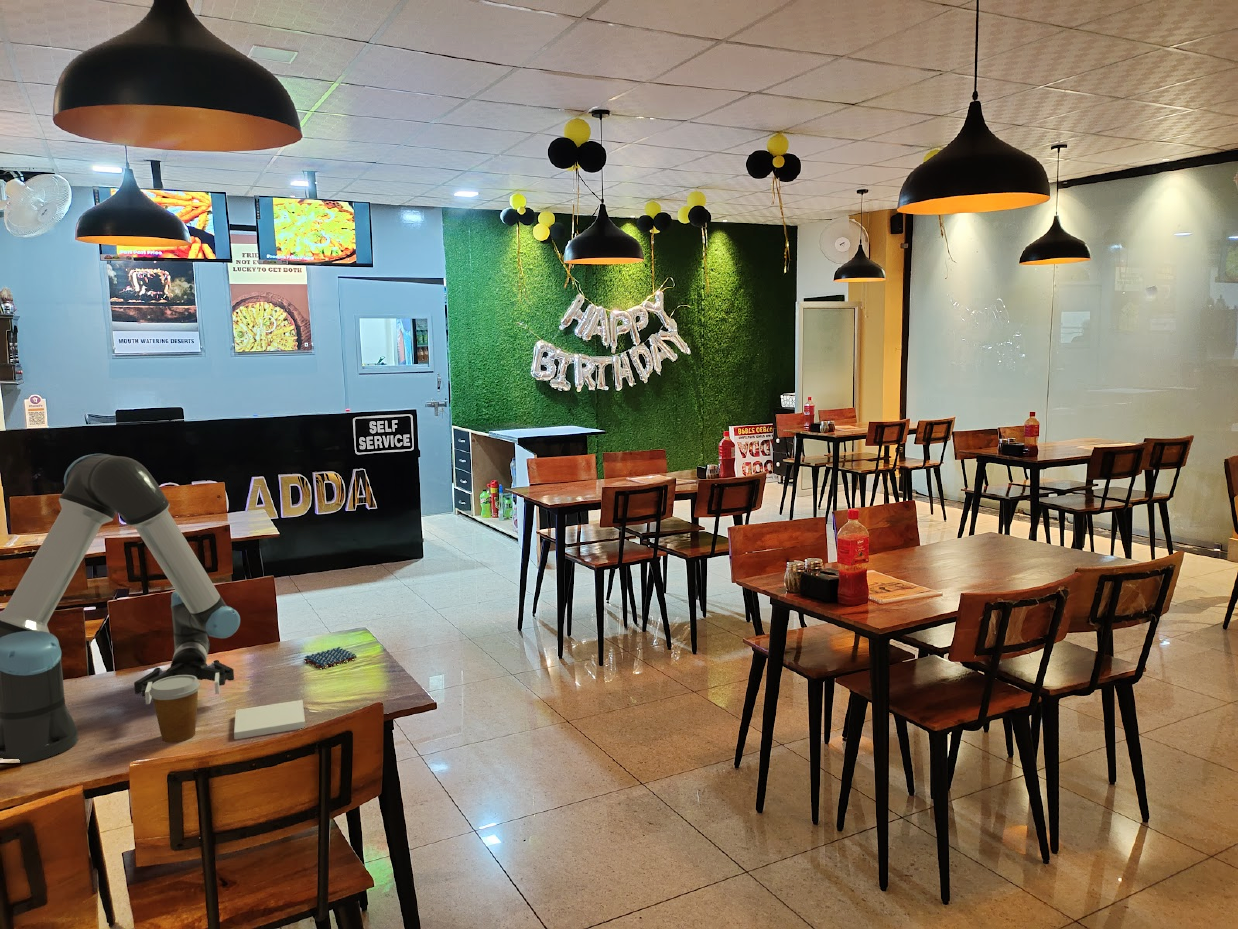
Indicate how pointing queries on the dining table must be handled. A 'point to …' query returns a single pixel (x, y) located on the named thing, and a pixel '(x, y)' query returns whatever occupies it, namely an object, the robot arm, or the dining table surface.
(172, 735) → the disposable coffee cup
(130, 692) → the dining table surface
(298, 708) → the pad
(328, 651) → the woven mat
